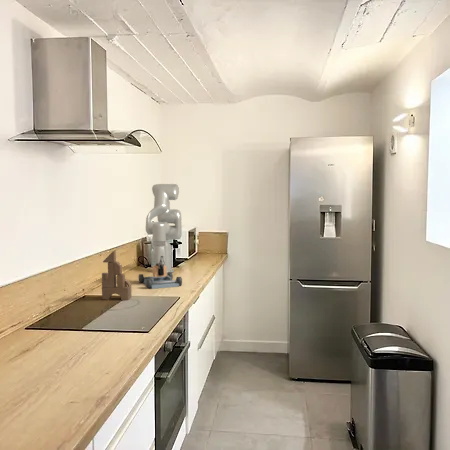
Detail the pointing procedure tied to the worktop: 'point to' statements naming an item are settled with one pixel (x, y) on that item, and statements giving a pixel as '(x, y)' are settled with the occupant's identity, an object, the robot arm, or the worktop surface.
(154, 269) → the block
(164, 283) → the chassis
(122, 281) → the wooden toy
